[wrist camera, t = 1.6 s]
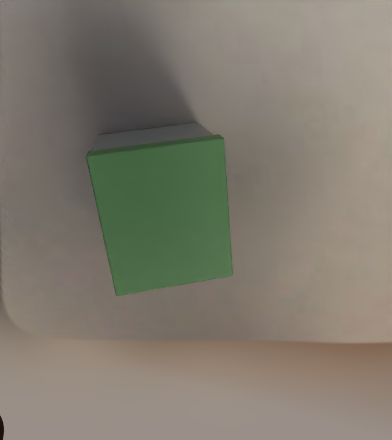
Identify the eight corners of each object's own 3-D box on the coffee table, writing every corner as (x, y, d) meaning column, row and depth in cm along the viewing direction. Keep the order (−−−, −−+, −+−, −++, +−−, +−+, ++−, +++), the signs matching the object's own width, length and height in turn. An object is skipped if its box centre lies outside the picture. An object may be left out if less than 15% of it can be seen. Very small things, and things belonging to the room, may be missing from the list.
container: (210, 231, 21) (233, 276, 17) (118, 246, 21) (116, 297, 16) (200, 119, 19) (224, 137, 14) (95, 132, 18) (85, 155, 14)
